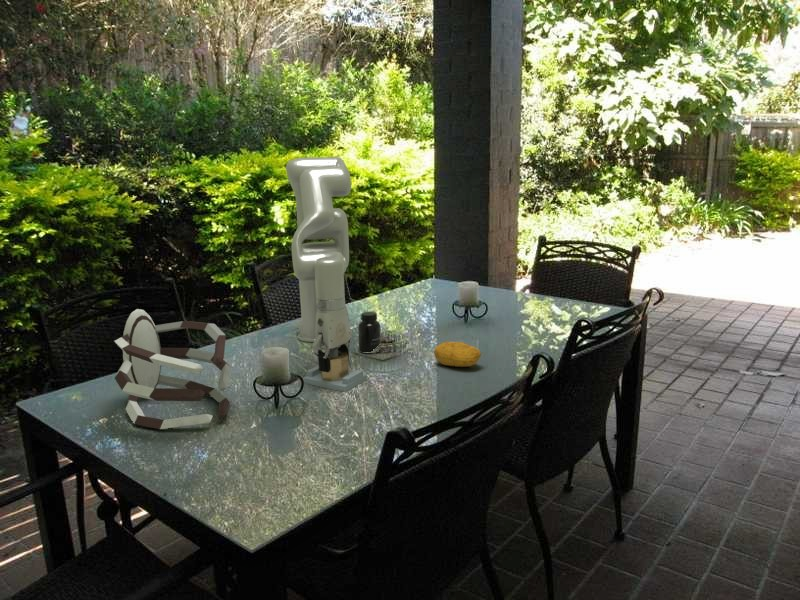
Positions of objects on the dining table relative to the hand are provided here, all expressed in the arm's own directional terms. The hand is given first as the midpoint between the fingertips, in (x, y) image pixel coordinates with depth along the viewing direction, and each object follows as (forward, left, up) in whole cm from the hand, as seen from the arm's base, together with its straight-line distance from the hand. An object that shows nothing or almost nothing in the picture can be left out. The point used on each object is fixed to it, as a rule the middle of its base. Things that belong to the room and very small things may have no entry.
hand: (334, 366), depth 178 cm
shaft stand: (0, 0, -4) cm, 4 cm away
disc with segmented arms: (-23, -34, -5) cm, 42 cm away
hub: (0, 0, -3) cm, 3 cm away
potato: (+24, +26, -5) cm, 36 cm away
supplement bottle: (-6, +26, -5) cm, 27 cm away
